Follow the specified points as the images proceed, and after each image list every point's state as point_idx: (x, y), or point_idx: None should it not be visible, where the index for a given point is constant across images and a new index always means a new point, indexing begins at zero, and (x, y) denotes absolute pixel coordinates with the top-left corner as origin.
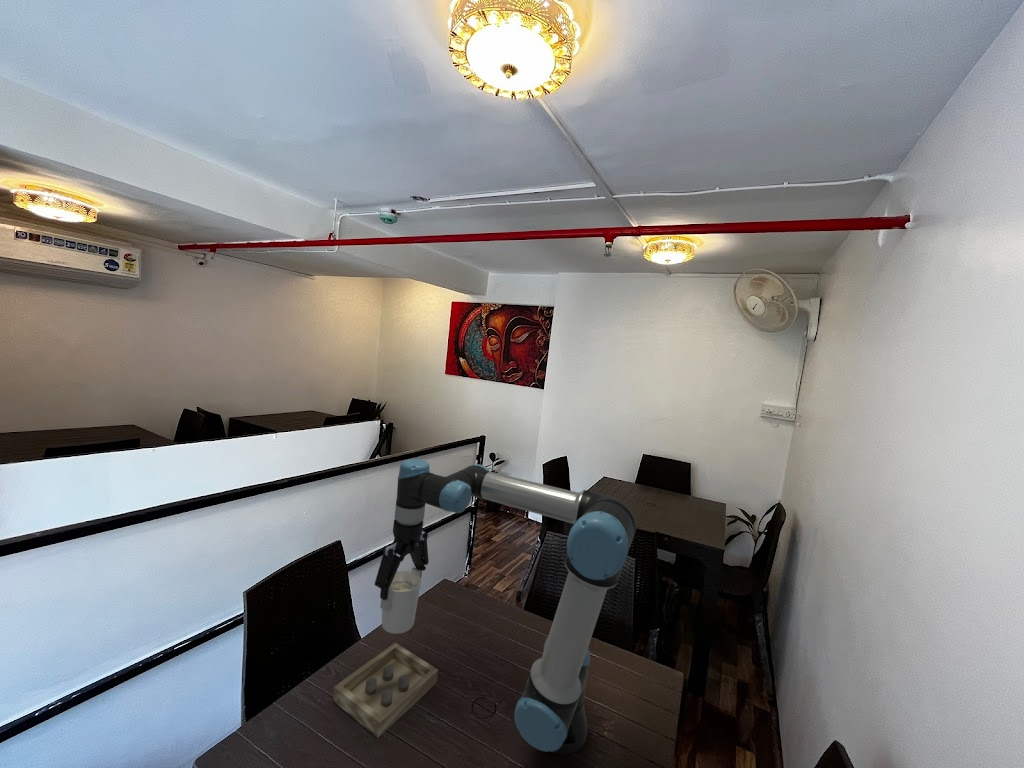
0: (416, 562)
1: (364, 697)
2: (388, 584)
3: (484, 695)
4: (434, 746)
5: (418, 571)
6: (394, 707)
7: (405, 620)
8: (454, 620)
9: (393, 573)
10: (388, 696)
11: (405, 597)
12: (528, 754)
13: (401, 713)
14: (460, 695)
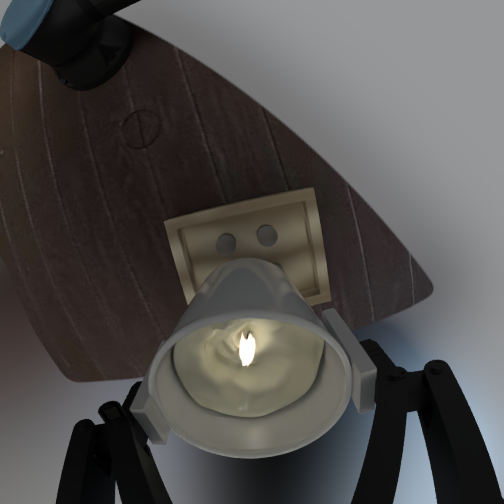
0: (146, 462)
1: (288, 265)
2: (401, 381)
3: (124, 146)
4: (247, 118)
5: (145, 413)
6: (278, 196)
7: (260, 267)
8: (78, 317)
9: (392, 433)
10: (269, 229)
11: (287, 305)
12: (153, 40)
13: (258, 197)
14: (154, 170)
